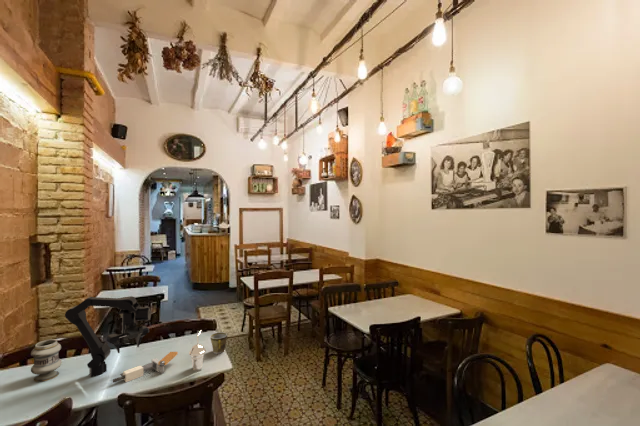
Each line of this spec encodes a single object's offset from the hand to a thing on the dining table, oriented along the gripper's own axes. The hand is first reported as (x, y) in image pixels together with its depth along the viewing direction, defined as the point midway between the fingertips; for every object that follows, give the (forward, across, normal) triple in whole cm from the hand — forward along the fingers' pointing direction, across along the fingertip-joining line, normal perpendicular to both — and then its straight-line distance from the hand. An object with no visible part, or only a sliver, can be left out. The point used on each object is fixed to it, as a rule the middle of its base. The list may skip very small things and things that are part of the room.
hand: (128, 350), depth 163 cm
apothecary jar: (+12, -28, +28) cm, 42 cm away
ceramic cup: (+12, +44, -18) cm, 49 cm away
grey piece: (+12, +4, -10) cm, 16 cm away
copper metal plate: (+6, +14, -14) cm, 21 cm away
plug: (+11, -4, -10) cm, 15 cm away
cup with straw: (+12, +24, -27) cm, 38 cm away
